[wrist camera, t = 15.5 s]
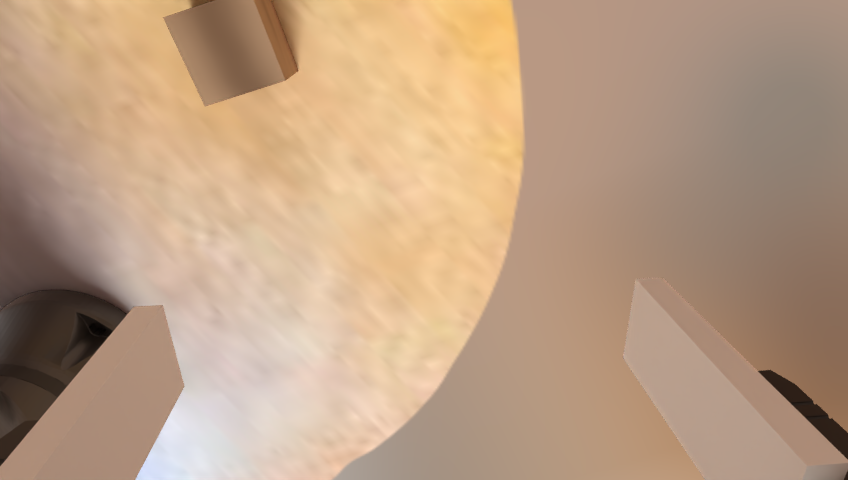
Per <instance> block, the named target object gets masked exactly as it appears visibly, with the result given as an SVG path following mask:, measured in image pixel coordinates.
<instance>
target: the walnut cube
mask: <svg viewBox="0 0 848 480" xmlns="http://www.w3.org/2000/svg"><path fill="white" fill-rule="evenodd" d="M163 18H164V20H165V22H166V25H167V27H168V29H169V31H170V33H171V35H172V37H173V39H174V42H175V44H176V46H177V48H178V50H179V52H180V54H181V56H182V59H183V61H184V63H185V65H186V67H187V69H188V71H189V74H190V76H191V78H192V80H193V82H194V84H195V86H196V88H197V91H198V93H199V95H200V97H201V99H202V101H203V103H204V105H205V106H208V105H211V104H214V103H217V102H220V101H224V100H227V99H230V98H233V97H236V96H239V95H242V94H245V93H248V92H251V91H254V90H258V89H261V88H264V87H267V86H270V85H273V84H276V83H279V82H282V81H285V80H287V79H288V78H289V77H291V76H292V75H293V74H295V73H296V72H297V71H298V69H297V66H296V63H295V61H294V58H293V56H292V53H291V50H290V48H289V45H288V43H287V40H286V37H285V35H284V32H283V29H282V27H281V24H280V22H279V19H278V16H277V14H276V11H275V9H274V6H273V3H272V1H271V0H214V1H211V2H208V3H205V4H202V5H199V6H196V7H193V8H190V9H187V10H184V11H181V12H178V13H175V14H172V15H169V16H166V17H163Z"/></svg>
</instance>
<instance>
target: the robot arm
mask: <svg viewBox="0 0 848 480" xmlns="http://www.w3.org/2000/svg"><path fill="white" fill-rule="evenodd" d="M623 359H624V360H625V362H626V363H627V365H628V366H629V368H630V369H631V371H632V372H633V374H634V375H635V377H636V378H637V380H638V381H639V383H640V384H641V386H642V387H643V389H644V390H645V392H646V393H647V394H648V396H649V397H650V399H651V400H652V402H653V403H654V405H655V406H656V408H657V409H658V411H659V412H660V414H661V415H662V417H663V418H664V420H665V421H666V422H667V424H668V426H669V427H670V429H671V430H672V432H673V433H674V435H675V436H676V438H677V439H678V441H679V442H680V444H681V445H682V447H683V448H684V449H685V451H686V452H687V454H688V455H689V457H690V458H691V460H692V461H693V463H694V464H695V466H696V467H697V468H698V470H699V472H700V473H701V475H702V476H703V478H704V479H705V480H848V433H847V432H846V431H845V430H844V429H843V428H842V427H841V426H840V425H839V424H838V423H836V422H835V421H834V420H833V419H829V417H828V414H827V413H826V412H825V411H823V410H822V409H821V408H820V407H819V406H818V405H817V404H816V405H815V404H814V403H813V401H812V399H810V398H809V397H808V396H807V395H806V394H805V393H804V392H803V391H802V390H801V389H800V388H799V387H798V386H796V385H795V384H794V383H792V382H790V381H788V380H787V379H785V378H783V377H782V376H780V375H778V374H776V373H775V372H773V371H771V370H766V371H757V370H756V369H755V368H754V367H753V366H752V365H751V364H750V363H749V362H748V361H747V360H746V359H745V358H744V357H743V356H742V355H741V354H740V353H738V351H737V350H736V349H734V347H733V346H731V345H730V344H729V343H728V342H727V341H726V340H725V339H724V338H723V337H722V336H721V335H720V334H719V333H718V332H717V331H716V330H715V329H714V328H713V327H712V326H711V325H710V324H709V323H708V322H707V321H706V320H705V319H704V318H703V317H702V316H701V315H700V314H699V313H698V312H697V311H696V310H695V309H694V308H693V307H692V306H691V305H690V304H689V303H688V302H687V301H686V300H685V299H684V298H683V297H681V295H680V294H678V292H677V291H675V289H673V288H672V287H671V286H670V285H669V284H668V283H667V282H666V281H665V280H664V279H663V278H662V277H658V278H639V279H636V280H635V286H634V293H633V299H632V305H631V312H630V318H629V324H628V330H627V337H626V343H625V350H624V356H623ZM183 388H184V383H183V379H182V376H181V372H180V368H179V364H178V361H177V357H176V353H175V349H174V346H173V342H172V338H171V334H170V331H169V327H168V323H167V320H166V316H165V312H164V308H163V305H158V306H140V307H133V308H132V309H131V311H130V312H129V313H128V314H125V313H124V312H123V311H121V310H120V309H118V308H116V307H115V306H113V305H111V304H109V303H108V302H105V301H103V300H101V299H99V298H96V297H93V296H90V295H87V294H83V293H79V292H74V291H66V290H45V291H38V292H34V293H30V294H27V295H24V296H21V297H19V298H17V299H15V300H14V301H12V302H10V303H9V304H8V305H6V306H5V307H4V308H3V309H1V310H0V480H135V479H136V477H137V475H138V473H139V471H140V469H141V468H142V466H143V464H144V462H145V460H146V458H147V456H148V454H149V452H150V450H151V449H152V447H153V445H154V443H155V441H156V439H157V437H158V435H159V433H160V432H161V430H162V428H163V426H164V424H165V422H166V420H167V418H168V416H169V414H170V413H171V411H172V409H173V407H174V405H175V403H176V401H177V399H178V397H179V396H180V394H181V392H182V390H183Z"/></svg>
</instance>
